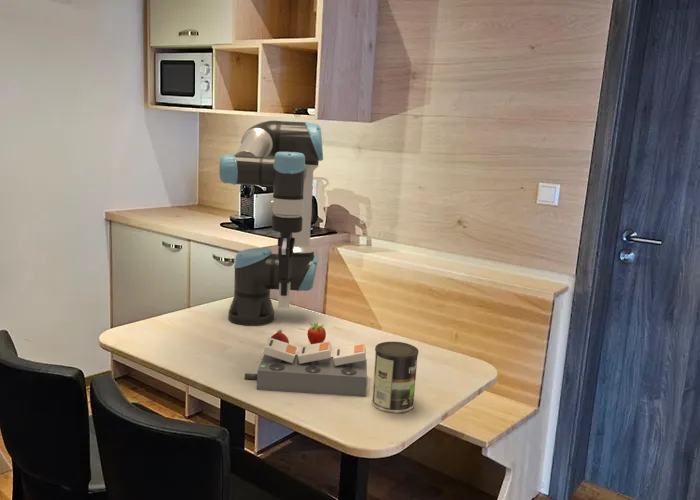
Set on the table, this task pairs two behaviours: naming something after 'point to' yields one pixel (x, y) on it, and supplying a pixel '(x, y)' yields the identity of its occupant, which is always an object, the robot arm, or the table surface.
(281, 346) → the panel
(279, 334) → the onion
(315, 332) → the fruit
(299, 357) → the rocker
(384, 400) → the coffee can
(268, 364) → the power strip
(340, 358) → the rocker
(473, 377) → the table surface
